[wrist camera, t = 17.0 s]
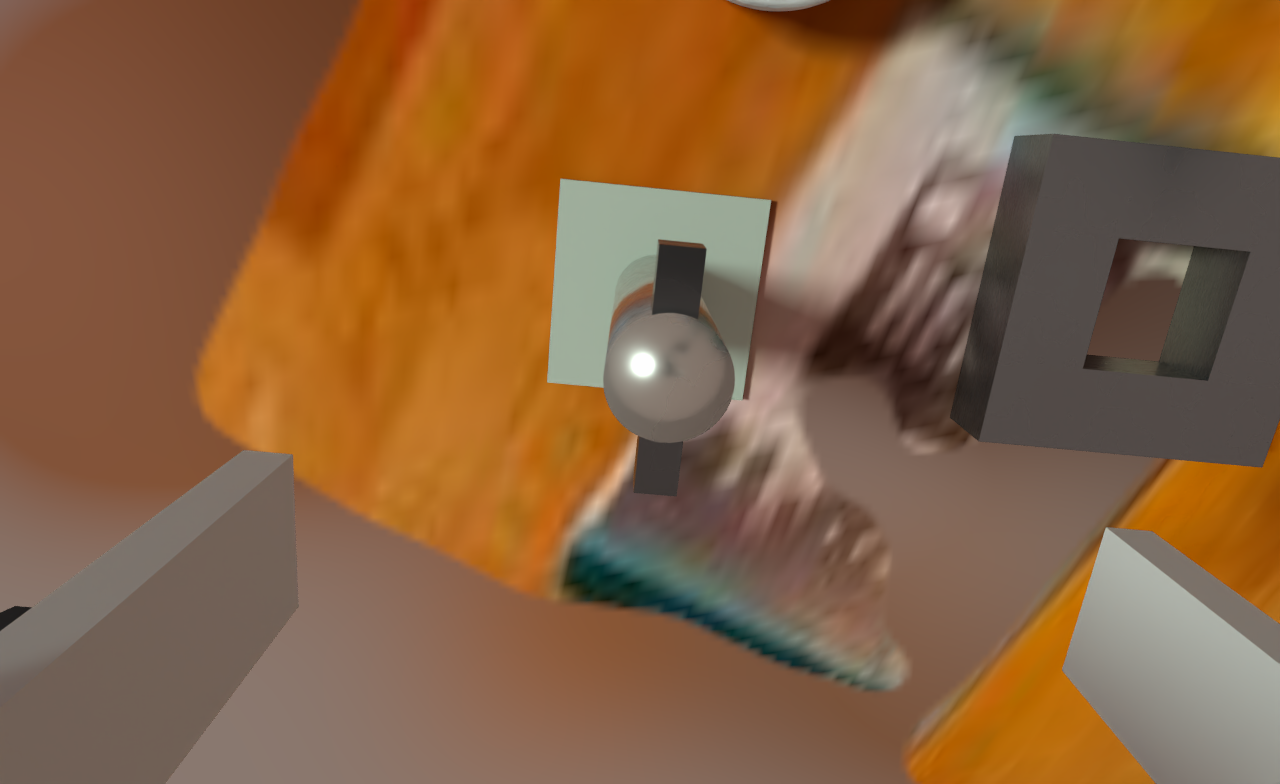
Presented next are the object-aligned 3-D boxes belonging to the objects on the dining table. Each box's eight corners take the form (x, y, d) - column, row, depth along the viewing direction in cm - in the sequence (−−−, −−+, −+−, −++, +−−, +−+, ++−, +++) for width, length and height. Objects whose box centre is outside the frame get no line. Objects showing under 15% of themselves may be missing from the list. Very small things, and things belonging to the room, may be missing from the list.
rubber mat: (561, 178, 36) (560, 178, 36) (769, 200, 37) (771, 200, 36) (548, 379, 39) (547, 382, 39) (741, 397, 39) (742, 400, 39)
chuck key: (607, 370, 39) (592, 495, 24) (622, 208, 36) (615, 241, 22) (686, 377, 39) (717, 506, 24) (706, 216, 36) (752, 254, 22)
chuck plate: (1014, 136, 36) (1053, 134, 32) (1303, 166, 36) (1371, 167, 33) (949, 417, 40) (978, 441, 36) (1210, 441, 40) (1262, 467, 37)
